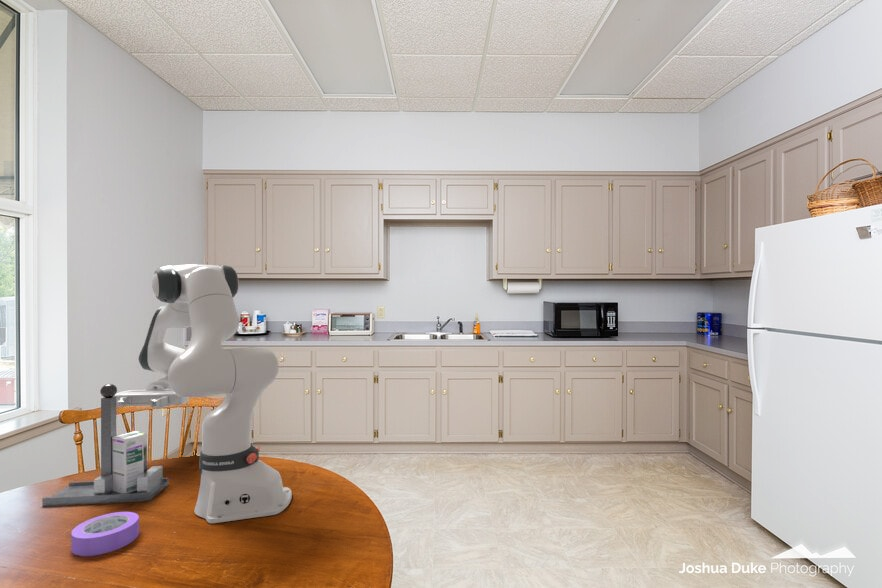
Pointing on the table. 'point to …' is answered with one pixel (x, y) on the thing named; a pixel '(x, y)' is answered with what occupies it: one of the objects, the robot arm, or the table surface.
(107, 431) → the ball-topped square post
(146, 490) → the tray
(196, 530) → the table surface
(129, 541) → the masking tape
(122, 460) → the syrup box
